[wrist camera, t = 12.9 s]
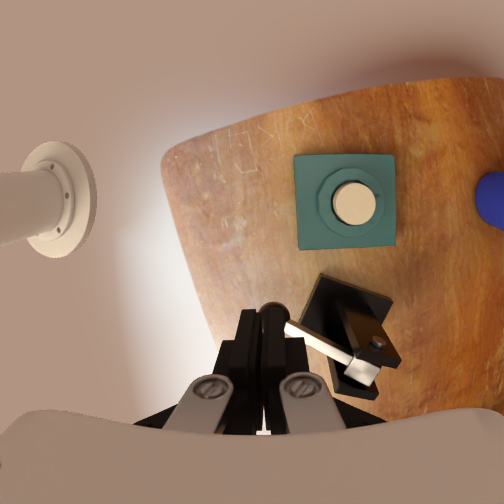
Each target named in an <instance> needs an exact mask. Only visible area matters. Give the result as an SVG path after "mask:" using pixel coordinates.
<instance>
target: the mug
mask: <svg viewBox="0 0 504 504" xmlns="http://www.w3.org/2000/svg"><path fill="white" fill-rule="evenodd" d="M476 206H477V210H478V212H479V214H480V216H481V217H482V218H483V219H484V220H485V221H486V222H487V223H489V224H490V225H493V226H495V227H497V228H499V229H501V230H503V231H504V172H493V173H489V174H487V175H485V176H484V177H483V178H482V179H481V180H480V182H479V184H478V186H477V189H476Z"/></svg>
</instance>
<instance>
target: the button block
mask: <svg viewBox="0 0 504 504" xmlns="http://www.w3.org/2000/svg"><path fill="white" fill-rule="evenodd" d="M293 163H294V177H295V193H296V210H297V230H298V247H299V250H317V249H337V248H357V247H377V246H395V245H396V179H395V160H394V155H389V154H313V155H294V156H293ZM346 183H360V184H363V185H365V186H367V187H368V188H369V189H370V190H371V191H372V193H373V195H374V197H375V202H376V207H375V211H374V214H373V215H372V217H371V218H370V219H369V220H368V221H367V222H365V223H363V224H360V225H351V224H348V223H346V222H345V221H343V220H342V219H341V218H339V217H338V215H337V214H336V212H335V210H334V207H333V198H334V195H335V192H336V191H337V190H338V188H339V187H341V186H342V185H344V184H346Z"/></svg>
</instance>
